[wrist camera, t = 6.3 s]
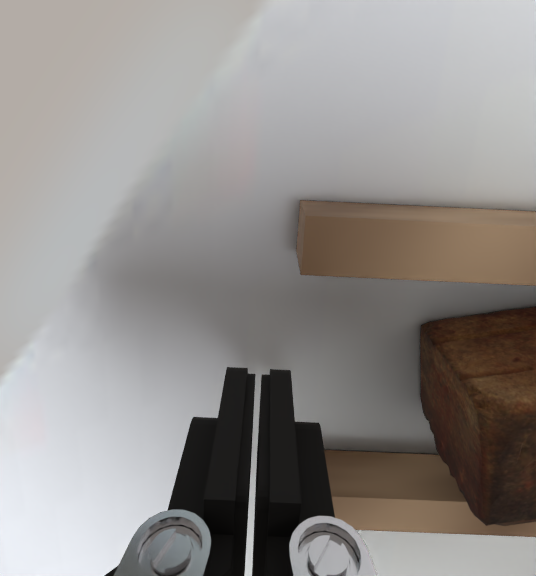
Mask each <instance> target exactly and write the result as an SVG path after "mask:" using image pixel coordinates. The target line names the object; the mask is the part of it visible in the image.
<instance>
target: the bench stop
mask: <svg viewBox="0 0 536 576" xmlns="http://www.w3.org/2000/svg"><path fill="white" fill-rule="evenodd" d="M296 252H297V258H298V263H299V268H300V274H301V275H315V276H336V277H358V278H380V279H402V280H423V281H445V282H467V283H489V284H510V285H532V286H536V211H516V210H495V209H474V208H453V207H432V206H411V205H390V204H369V203H348V202H327V201H306V200H300V208H299V221H298V235H297V248H296ZM324 452H325V458H326V465H327V471H328V477H329V483H330V489H331V496H332V502H333V508H334V514H335V518H337V519H340V520H342V521H344V522H346V523H347V524H349V525H350V526H352V527H353V528H354V529H355V530H374V531H399V532H424V533H449V534H474V535H499V536H525V537H536V522H530V523H523V524H516V525H509V526H501V525H495V524H493V525H488V526H486V525H485V524H484V523H482V522H481V521H480V520H479V519H478V518H477V517H475V516H474V515H473V513H472V512H471V510H470V508H469V506H468V504H467V501H466V499H465V498H464V496H463V494H462V493H461V492H460V491H459V488H458V485H457V482H456V479H455V478H454V477H452V476H451V475H450V471H449V467H448V465H447V464H445V463H444V462H443V461H442V459H441V457H440V455H434V454H410V453H386V452H362V451H339V450H324Z"/></svg>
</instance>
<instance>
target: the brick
mask: <svg viewBox="0 0 536 576" xmlns="http://www.w3.org/2000/svg"><path fill="white" fill-rule="evenodd" d="M420 363H421V402H422V407H423V413H424V415H425V417H426V419H427V420H428V421H429V424H430V429H431V431H432V433H433V434H434V440H435V444H436V449H437V451H438V453H439V455H440V457H441V459H442V461H443V462H444V463H445V464H447V465H448V467H449V471H450V475H451V476H452V477H454V478H455V479H456V482H457V485H458V488H459V491H460V492H461V493H462V494H463V496H464V498H465V499H466V501H467V504H468V506H469V508H470V510H471V512H472V513H473V515H474V516H475V517H477V518H478V519H479V520H480V521H481V522H482V523H484V524H485V525H486V526H488V525H493V524H495V525H501V526H509V525H516V524H523V523H530V522H536V307H529V308H523V309H513V310H505V311H497V312H492V313H487V314H479V315H470V316H464V317H457V318H448V319H442V320H438V321H433V322H429V323H426V324H424V325H421V334H420Z"/></svg>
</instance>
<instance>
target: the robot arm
mask: <svg viewBox="0 0 536 576" xmlns="http://www.w3.org/2000/svg"><path fill="white" fill-rule="evenodd" d="M247 373H248V368H232V367H227V370H226V375H225V381H224V387H223V392H222V398H221V404H220V409H219V415H218V418H203V417H193V418H192V421H191V424H190V428H189V432H188V435H187V439H186V443H185V447H184V451H183V454H182V458H181V462H180V466H179V469H178V473H177V477H176V481H175V485H174V488H173V492H172V496H171V500H170V504H169V507H168V511H164V512H160V513H158V514H156V515H154V516H153V517H151V518H149V519H148V520H147V521H146V522H145V523H143V524H142V525H141V526H140V527H139V528H138V530H137V531H136V533H135V534H134V536H133V537H132V539H131V541H130V543H129V545H128V547H127V549H126V551H125V554H124V556H123V558H122V560H121V562H120V564H119V566H117V567H116V568H115V569H113V570H112V571H110V572H109V573H108V574H106V575H105V576H244V572H245V555H246V538H247V521H248V504H249V487H250V469H251V451H252V431H253V410H254V390H255V374H247ZM252 576H378V575H377V572H376V569H375V567H374V564H373V561H372V559H371V556H370V553H369V551H368V548H367V546H366V544H365V542H364V541H363V539H362V537H361V536H360V535H359V533H358V532H357V531H356V530H355V529H354V528H353V527H352V526H350V525H349V524H347V523H346V522H344V521H342V520H340V519H337V518H335V514H334V508H333V502H332V496H331V489H330V483H329V477H328V471H327V465H326V458H325V452H324V446H323V440H322V434H321V428H320V424H319V423H309V422H295V420H294V407H293V394H292V381H291V371H290V370H273V369H270V375H262V380H261V397H260V415H259V433H258V450H257V472H256V496H255V520H254V545H253V569H252Z"/></svg>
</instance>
